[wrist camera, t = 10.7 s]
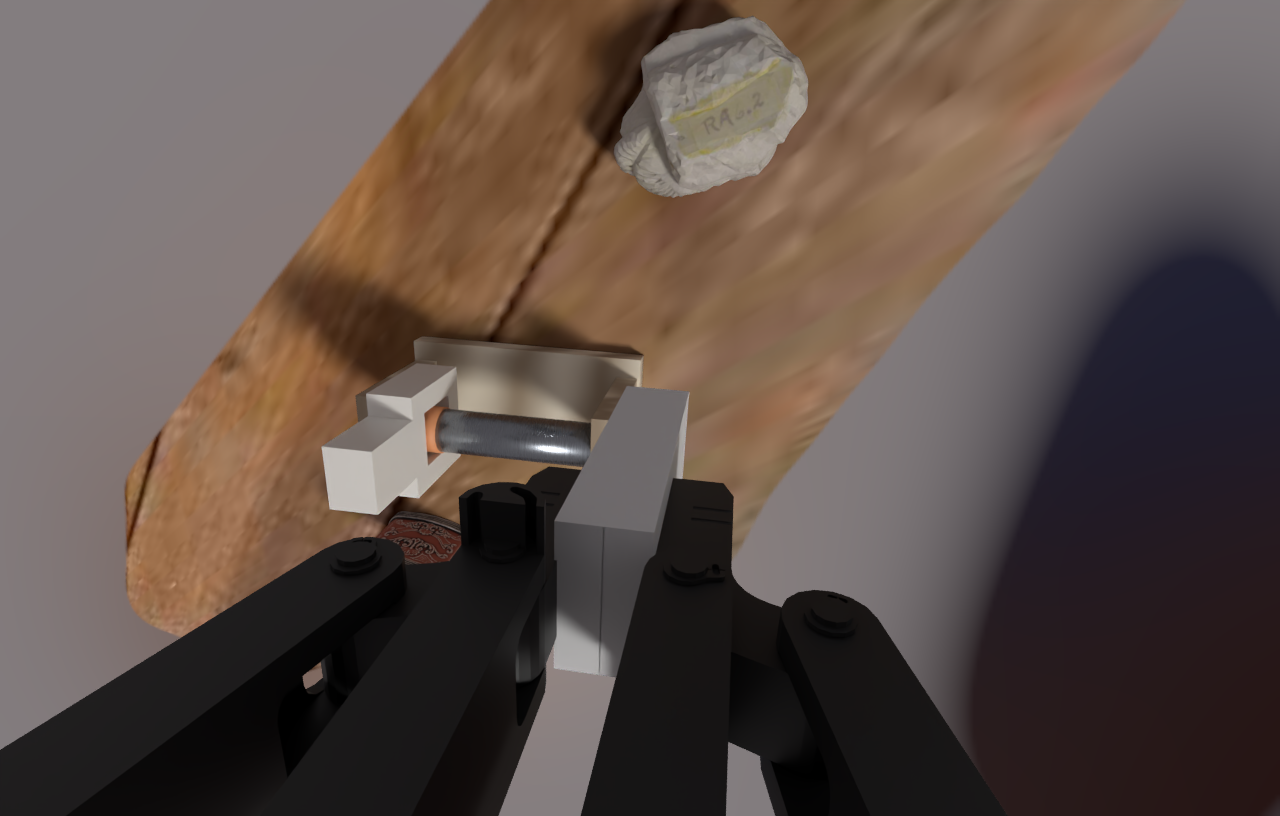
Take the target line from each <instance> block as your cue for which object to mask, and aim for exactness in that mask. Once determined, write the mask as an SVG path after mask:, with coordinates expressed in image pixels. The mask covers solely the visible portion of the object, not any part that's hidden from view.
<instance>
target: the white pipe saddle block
mask: <svg viewBox="0 0 1280 816" xmlns="http://www.w3.org/2000/svg"><path fill="white" fill-rule="evenodd" d="M366 400H367V410H368V416H367V417H366V418H364V419H363V420H361V421H360V422H358V423H357V424H355V425H354V426H352V427H351V428H349V429H348V430H346V431H345V432H343V433H342V434H340V435H339V436H337V437H336V438H334V439H333V440H331V441H329V442H328V443H326V444H325V445H323V446H322V452H323V460H324V468H325V476H326V484H327V491H328V499H329V507H330V509H333V510H341V511H349V512H358V513H366V514H374V515H378V514H379V513H380V512H382V511H383V510H384V509H385V508H386V507H387V506H388V505H389V504H390V503H391V502H392V501H393V500H394V499H395V498H396V497H397V496H404V497H413V498H419V497H420V496H421V495H422V494H423V493H424V492H425V491H426V490H427V489H428V488H429V487H430V486H431V485H432V484H433V483H434V482H435V481H436V480H437V479H438V478H439V477H440V476H441V475H442V474H443V473H444V472H445V471H446V470H447V469H448V468H449V467H450V466H451V465H452V464H453V463H454V462H455V461H456V460H457V459H458V458H459V457H460V456H461V454H457V453H448V452H444V453H434V452H427V445H426V431H425V417H424V413H425V412H427V411H428V410H429V409H431V408H432V407H433V406H441V407H448V408H450V409H456V410H458V390H457V370H456V367H453V366H442V365H430V364H419V363H416V364H415V365H413V366H411V367H410V368H408V369H406V370H405V371H403V372H401V373H400V374H398V375H396V376H395V377H393V378H391V379H390V380H388V381H386V382H385V383H383V384H381V385H380V386H378V387H376V388H375V389H373V390H371V391H370V392H368V393H366Z"/></svg>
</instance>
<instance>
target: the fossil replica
mask: <svg viewBox="0 0 1280 816" xmlns="http://www.w3.org/2000/svg"><path fill="white" fill-rule="evenodd" d="M641 67H642V72H643V87H642V90H641V92H640V93H639V95H638V97H637V99H636V100H635V102H634V103H633V105H632V106H631V107H630V109H629V110H628V111H627V112H626V114H625V115H624V117H623V121H622V124H621V130H620V133H621V135H622V138H621V139H620V140H619V141H618V142H617V143H616V145H615V148H614V155H615V159H616V161H617V164H618V165H619V166H620V168H621V170H622V171H624V172H625V173H629V174H630V175H632V176H635V177H636V179H637V182H638V183H639V184H640V185H641V186H642V187H644V188H645V189H646V190H647V191H650V192H652V193H654V194H657V195H662V196H665V197H668V196H671V197H673V198H674V197H676V196H680V197H682V196H683V195H688V194H690V195H691V194H692V193H696V192H698V193H700V192H701V191H706V190H708V189H710V188H711V187H712V186H720V185H722V184H723V183H725V182H727V181H729V180H734V181H736V180H739V179H742V178H744V177H747V176H756V175H758V174H759V173H760V172H761V170H762V169H763V168H764V167H765V166H766V165H767V164H768V163H769V161H770V160H771V159H772V157H773V155H774V153H775V151H776V147H777V144H780V143H783V142H784V141H785V139H786V137H787V135H788V133H789V131H790V130H791V128H792V127H793V126H794V125H795V123H796V122H797V121H798V120H799V118H800V117H801V116H802V115H803V113H804V112H805V111H806V108H807V104H808V95H807V88H808V79H807V75H806V74H805V71H804V67H803V65H802V62H801V61H800V59H799V58H798V57H797V56H795V55H794V54H792V53H791V52H790V51H789V50H788V49H787V48H786V47H785V46H784V45H783V42H782V41H781V40H779V38H778V37H777V36H776V35H775V34H774V32H773V31H772V30H771V29H770V28H769V27H768V25H767V24H766V23H765V22H763V21H760V20H758V19H757V18H755V17H754V16H751V17H748V18H740V17H737V18H730V19H728V20H726V21H725V22H722V23H716V24H712V25H709V26H707V27H705V28H703V29H691V30H687V31H682V30H681V31H680V32H677V33H672V35H669V37H668V38H667V40H665V41H664V42H663V43H661V44H659V45H657V46H656V47H655V48H654V49H653V50H652V51H650V52H649V53H648V54H647V55H645V56H644V57H643V59H642V61H641Z"/></svg>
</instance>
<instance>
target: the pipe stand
mask: <svg viewBox="0 0 1280 816" xmlns="http://www.w3.org/2000/svg"><path fill="white" fill-rule="evenodd" d="M414 352H415V361H414V362H412V363H411V364H409V365H407V366H405V367H404V368H402V369H400V370H399V371H397V372H395V373H393V374H392V375H390V376H388V377H387V378H385V379H383V380H382V381H380V382H378V383H376V384H375V385H373V386H371V387H370V388H368V389H366V390H365V391H363V392H361V393H359V394H358V395H356V404H357V414H358V422H360V421H361V420H363V419H364V418H366V417H367V416H368V410H367V400H366V393H368V392H370V391H371V390H373V389H375V388H376V387H378V386H380V385H381V384H383V383H385V382H386V381H388V380H390V379H391V378H393V377H395V376H396V375H398V374H400V373H401V372H403V371H405V370H406V369H408V368H410V367H411V366H413V365H415V364H416V363H419V364H430V365H442V366H453V367H456V370H457V390H458V410H456V409H450V408H448V407H441V406H433V407H432V408H431V409H429V410H428V411H427V412H425V413H424V417H425V431H426V445H427V452H434V453H444V452H448V453H457V454H466V455H476V456H485V457H494V458H504V459H513V460H522V461H532V462H541V463H550V464H560V465H569V466H579V467H584V465H585V463H586V461H587V459H588V457H589V455H590V454H591V452H592V450H593V448H594V446H595V444H596V442H597V441H598V439H599V437H600V435H601V433H602V431H603V429H604V428H605V426H606V424H607V422H608V420H609V418H610V416H611V415H612V413H613V411H614V409H615V407H616V405H617V403H618V402H619V400H620V398H621V396H622V394H623V392H624V390H625V389H626V387H627V386H633V387H642V378H643V358H644V355H636V354H624V353H612V352H601V351H589V350H577V349H565V348H554V347H542V346H530V345H518V344H507V343H495V342H483V341H471V340H460V339H448V338H436V337H424V336H422V337H420V338H418V339H416V340H414Z"/></svg>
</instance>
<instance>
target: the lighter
mask: <svg viewBox="0 0 1280 816" xmlns="http://www.w3.org/2000/svg"><path fill="white" fill-rule="evenodd" d="M376 538H382V539H389V540H391V541H393V542H395V543H397V544H399V545H400V547H401V548H402V550H403V552H404V556H405V565H410V564H424V563H437V562H444V561H450V559H451V558H452V557H453V555H454V554H455V553H456V551H457V550H458V549H459V547H460V546H461V530H460V525H459V524H456V523H454V522H451V521H448V520H446V519H443V518H440V517H436V516H432V515H427V514H422V513H415V512H405V511H403V512H399V513H397V514H396V515H395V516H394V517H393V518H392V519H391V520H390V521H389V525H388V526H387V527H386V528H385V529H384V530H383V531H382V532H381V533H380V534H379V535H378V536H377V537H376Z"/></svg>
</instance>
